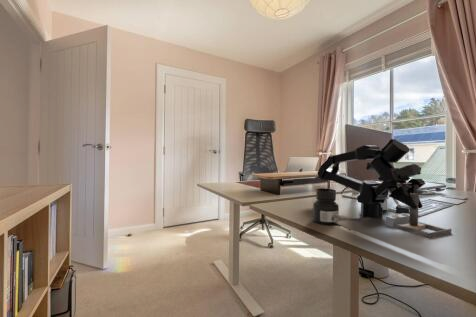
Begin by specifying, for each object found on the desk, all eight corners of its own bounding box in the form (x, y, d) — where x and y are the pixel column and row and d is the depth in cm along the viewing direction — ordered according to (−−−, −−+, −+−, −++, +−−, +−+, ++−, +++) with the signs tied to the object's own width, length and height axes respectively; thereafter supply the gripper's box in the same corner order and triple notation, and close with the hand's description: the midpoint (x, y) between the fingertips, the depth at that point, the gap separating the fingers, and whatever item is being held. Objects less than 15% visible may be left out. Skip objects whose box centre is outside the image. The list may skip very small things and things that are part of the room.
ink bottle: (324, 227, 78) (325, 192, 78) (307, 220, 87) (307, 188, 86) (344, 223, 82) (345, 190, 82) (326, 217, 91) (326, 187, 90)
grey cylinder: (401, 227, 75) (402, 193, 74) (415, 225, 77) (416, 192, 77) (410, 230, 72) (411, 195, 72) (425, 228, 75) (426, 193, 74)
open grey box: (385, 227, 78) (385, 220, 78) (406, 224, 82) (406, 217, 82) (429, 242, 66) (429, 233, 66) (451, 236, 70) (451, 228, 70)
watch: (414, 217, 91) (415, 189, 91) (390, 213, 97) (391, 187, 96) (416, 214, 95) (416, 188, 95) (393, 210, 101) (393, 186, 101)
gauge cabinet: (385, 227, 78) (385, 215, 78) (406, 224, 82) (406, 212, 82) (392, 230, 75) (393, 216, 75) (414, 226, 80) (414, 213, 79)
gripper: (384, 156, 74) (420, 195, 64) (420, 156, 81) (458, 191, 71) (362, 177, 82) (392, 215, 72) (397, 175, 89) (428, 210, 79)
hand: (418, 207), depth 73 cm, fingers closed on grey cylinder, 2 cm apart
